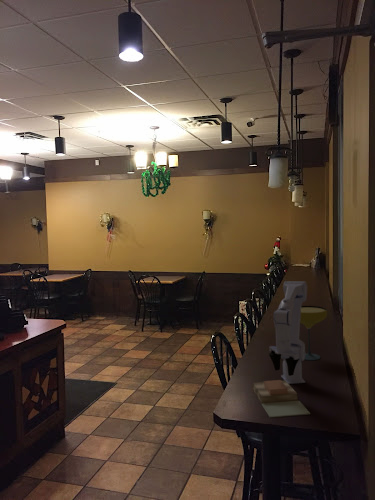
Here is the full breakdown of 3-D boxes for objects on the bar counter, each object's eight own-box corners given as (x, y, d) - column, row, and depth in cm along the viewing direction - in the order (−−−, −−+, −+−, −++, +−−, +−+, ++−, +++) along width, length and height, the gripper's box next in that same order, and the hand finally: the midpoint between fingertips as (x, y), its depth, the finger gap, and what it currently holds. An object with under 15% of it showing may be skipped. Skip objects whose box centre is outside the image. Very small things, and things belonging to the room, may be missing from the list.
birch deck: (253, 390, 174) (252, 383, 174) (285, 387, 176) (285, 380, 175) (262, 404, 160) (262, 396, 160) (297, 401, 162) (297, 393, 161)
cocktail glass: (284, 358, 214) (283, 310, 212) (302, 349, 226) (301, 304, 225) (317, 365, 201) (316, 314, 199) (334, 356, 214) (333, 308, 212)
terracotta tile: (263, 385, 170) (263, 381, 170) (280, 384, 171) (280, 379, 171) (270, 394, 161) (270, 389, 161) (287, 393, 162) (287, 388, 162)
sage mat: (261, 404, 160) (261, 403, 160) (299, 401, 161) (299, 400, 161) (269, 417, 149) (269, 416, 149) (310, 414, 150) (310, 413, 150)
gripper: (263, 337, 172) (264, 369, 172) (289, 345, 159) (290, 380, 160) (275, 334, 175) (276, 366, 176) (302, 342, 163) (303, 375, 164)
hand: (284, 372), depth 168 cm, fingers open, 7 cm apart
